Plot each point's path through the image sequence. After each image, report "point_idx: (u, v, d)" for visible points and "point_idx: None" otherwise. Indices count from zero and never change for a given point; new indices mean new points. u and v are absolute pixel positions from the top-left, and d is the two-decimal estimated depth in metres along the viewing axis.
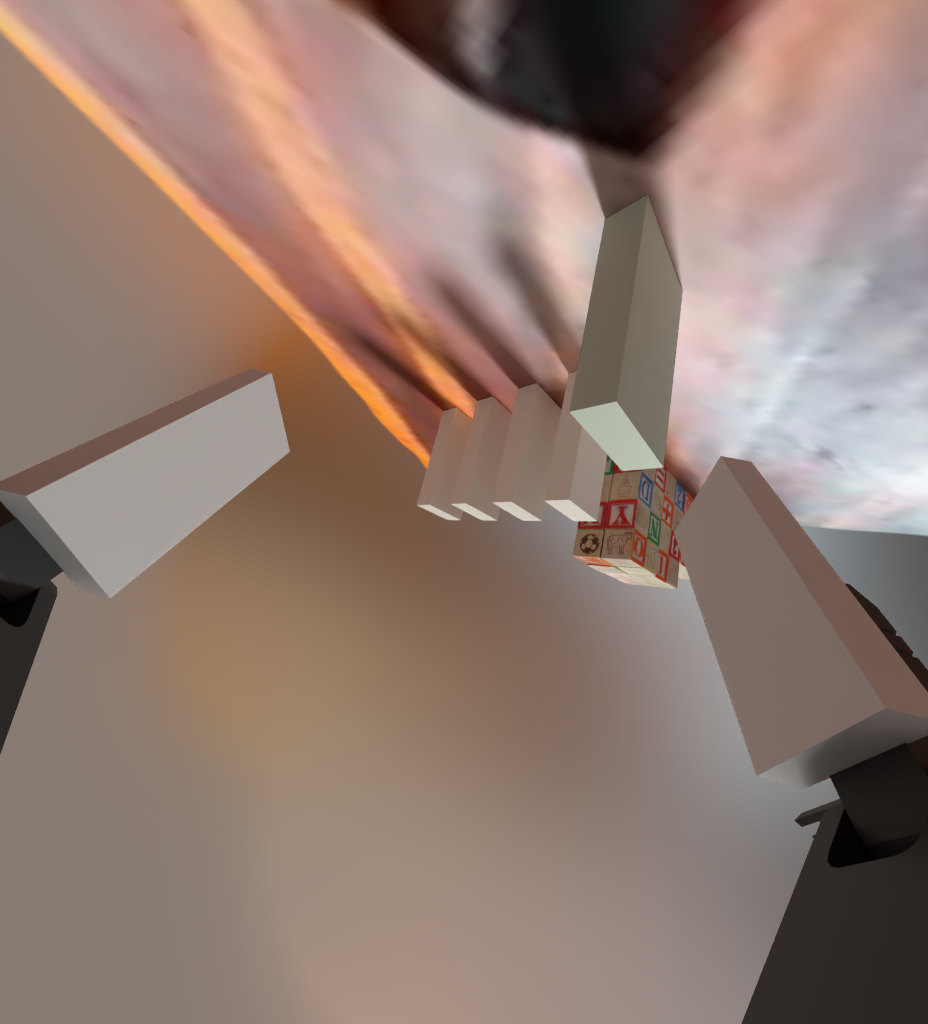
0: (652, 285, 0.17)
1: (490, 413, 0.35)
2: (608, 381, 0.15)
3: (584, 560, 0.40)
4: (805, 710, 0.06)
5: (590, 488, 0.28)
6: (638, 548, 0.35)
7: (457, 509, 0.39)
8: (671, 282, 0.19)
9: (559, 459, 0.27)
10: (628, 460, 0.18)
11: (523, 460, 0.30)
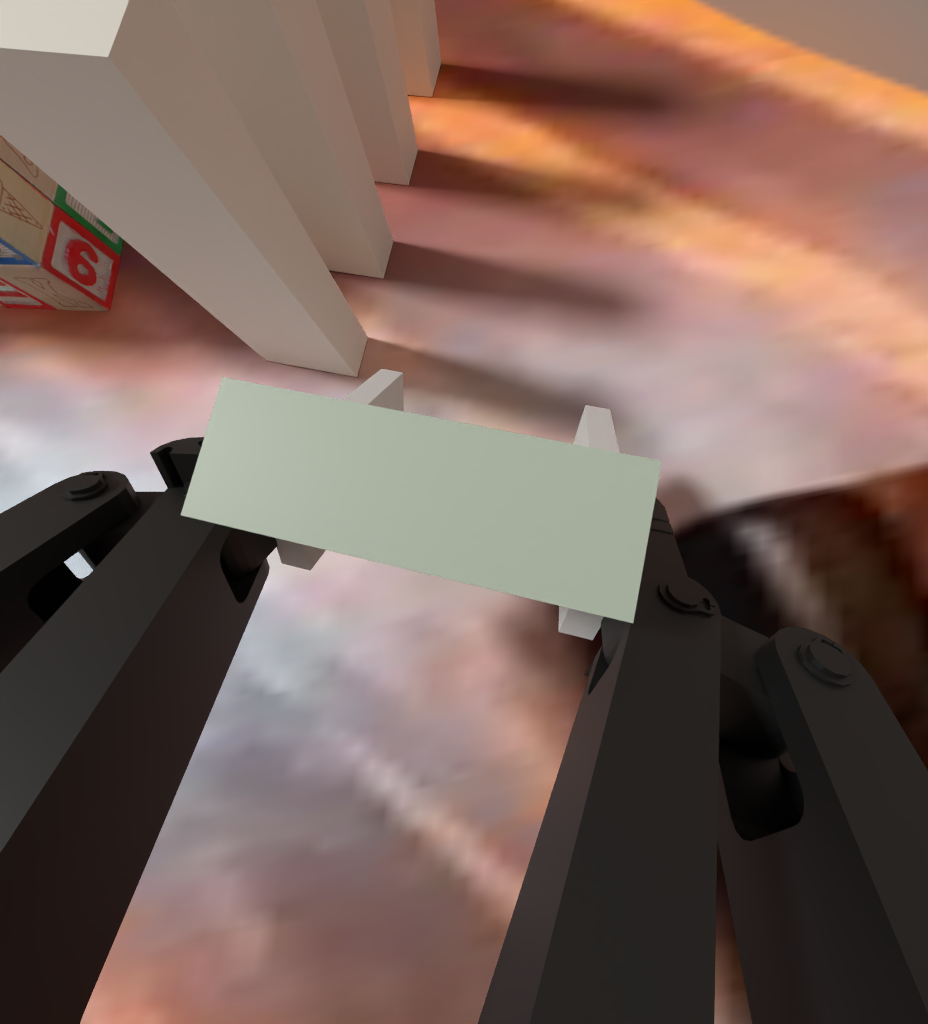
0: None
1: (393, 147, 0.16)
2: None
3: None
4: None
5: (97, 165, 0.08)
6: None
7: None
8: None
9: (257, 181, 0.09)
10: (283, 443, 0.05)
11: (291, 86, 0.10)
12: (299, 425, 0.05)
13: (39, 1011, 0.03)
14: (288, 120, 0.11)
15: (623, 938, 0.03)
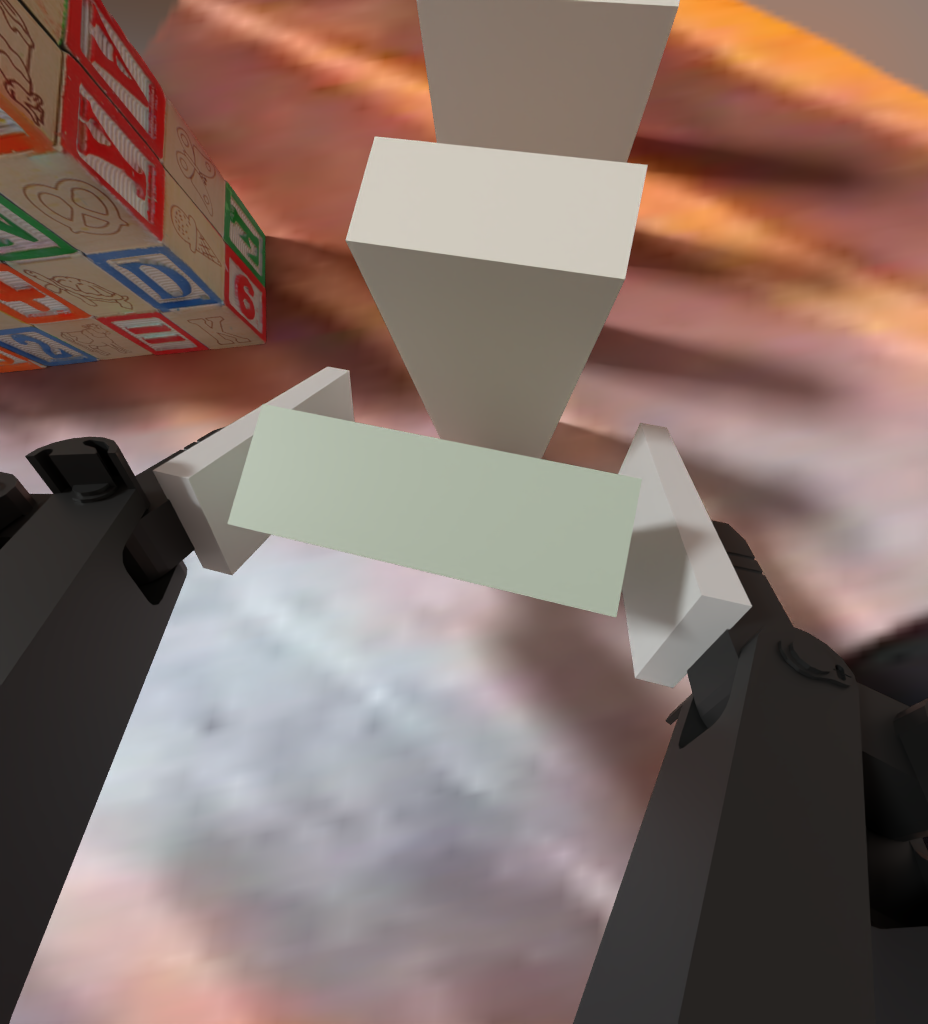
0: None
1: None
2: None
3: None
4: (664, 614, 0.07)
5: (465, 329, 0.08)
6: None
7: None
8: None
9: None
10: (316, 461, 0.06)
11: None
12: (329, 446, 0.06)
13: None
14: None
15: None
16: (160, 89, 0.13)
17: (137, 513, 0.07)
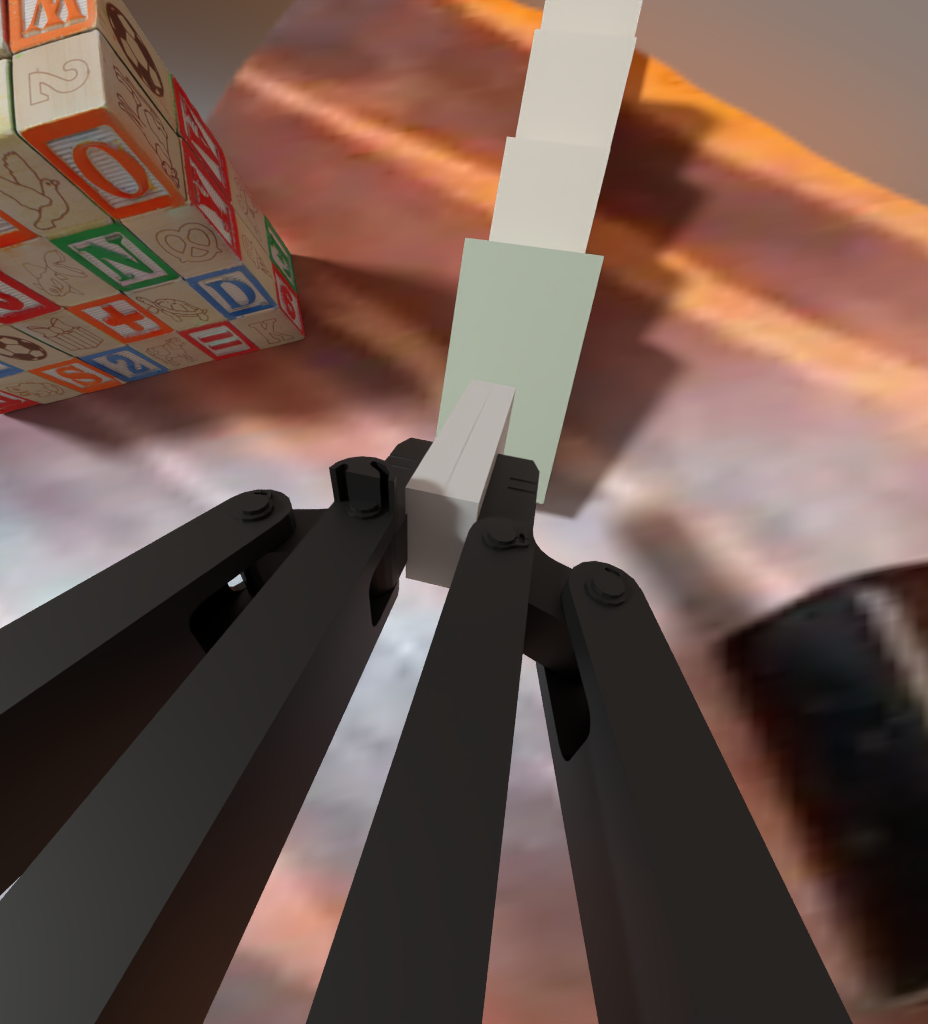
0: (523, 425, 0.18)
1: None
2: None
3: None
4: None
5: (538, 194, 0.17)
6: (110, 170, 0.13)
7: None
8: None
9: None
10: None
11: (602, 142, 0.18)
12: None
13: None
14: None
15: (427, 833, 0.03)
16: (222, 151, 0.18)
17: (389, 538, 0.07)
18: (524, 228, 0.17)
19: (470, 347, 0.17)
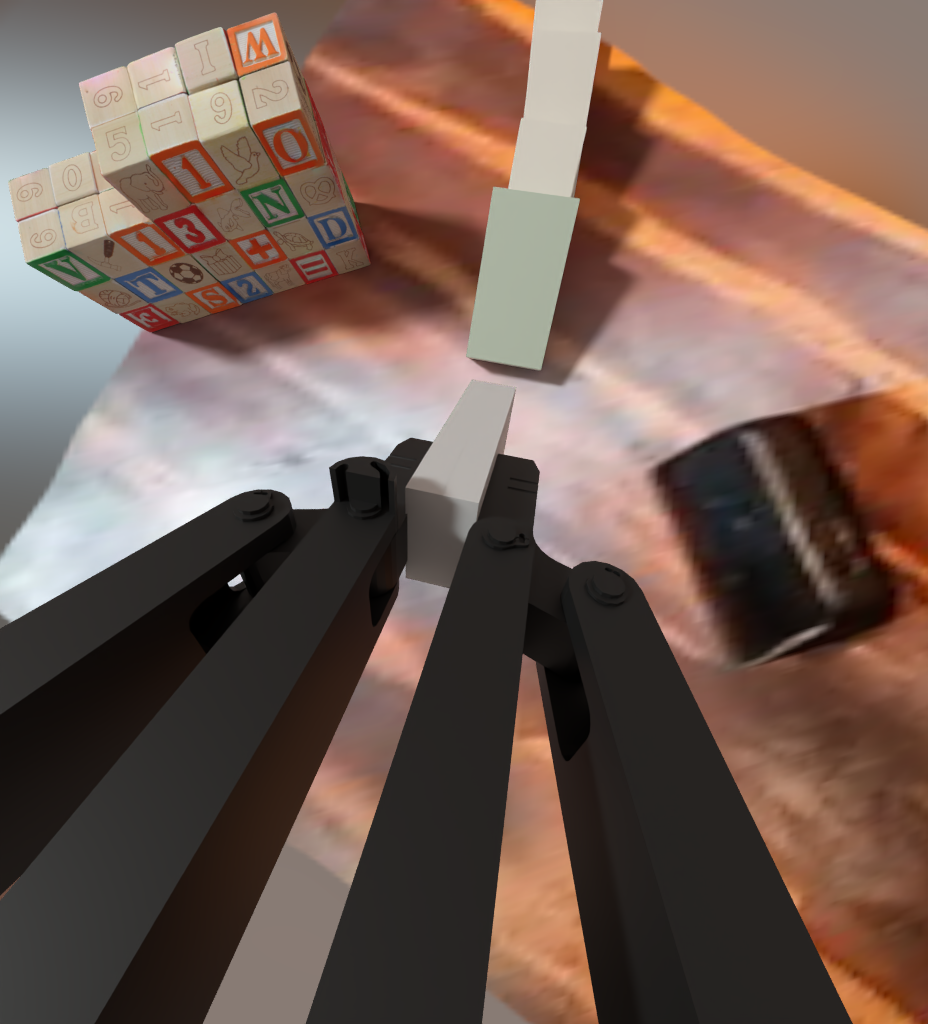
0: (528, 315, 0.28)
1: None
2: None
3: (247, 28, 0.21)
4: None
5: (541, 157, 0.26)
6: (289, 145, 0.22)
7: None
8: (491, 345, 0.29)
9: None
10: None
11: (583, 105, 0.27)
12: None
13: None
14: (571, 121, 0.27)
15: (427, 834, 0.03)
16: (323, 127, 0.26)
17: (389, 538, 0.07)
18: (531, 180, 0.27)
19: (495, 261, 0.27)
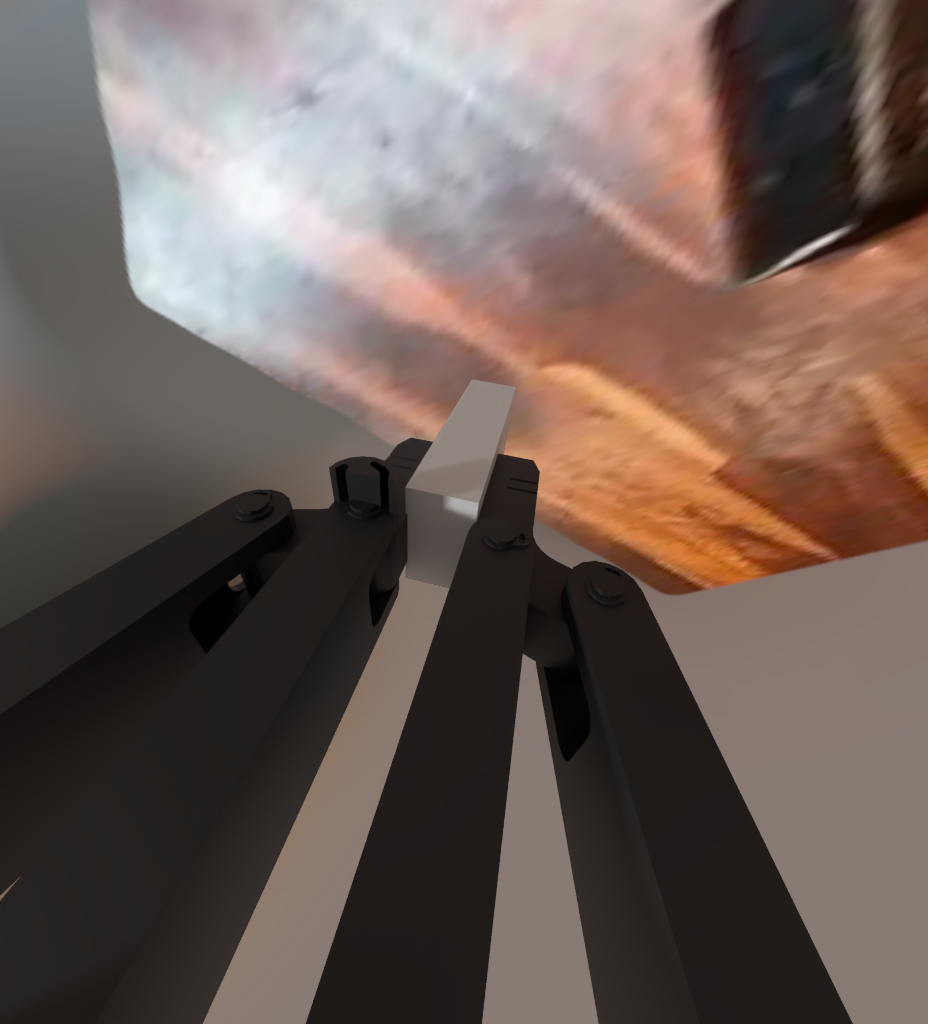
0: None
1: None
2: None
3: None
4: None
5: None
6: None
7: None
8: None
9: None
10: None
11: None
12: None
13: None
14: None
15: (427, 833, 0.03)
16: None
17: (389, 538, 0.07)
18: None
19: None
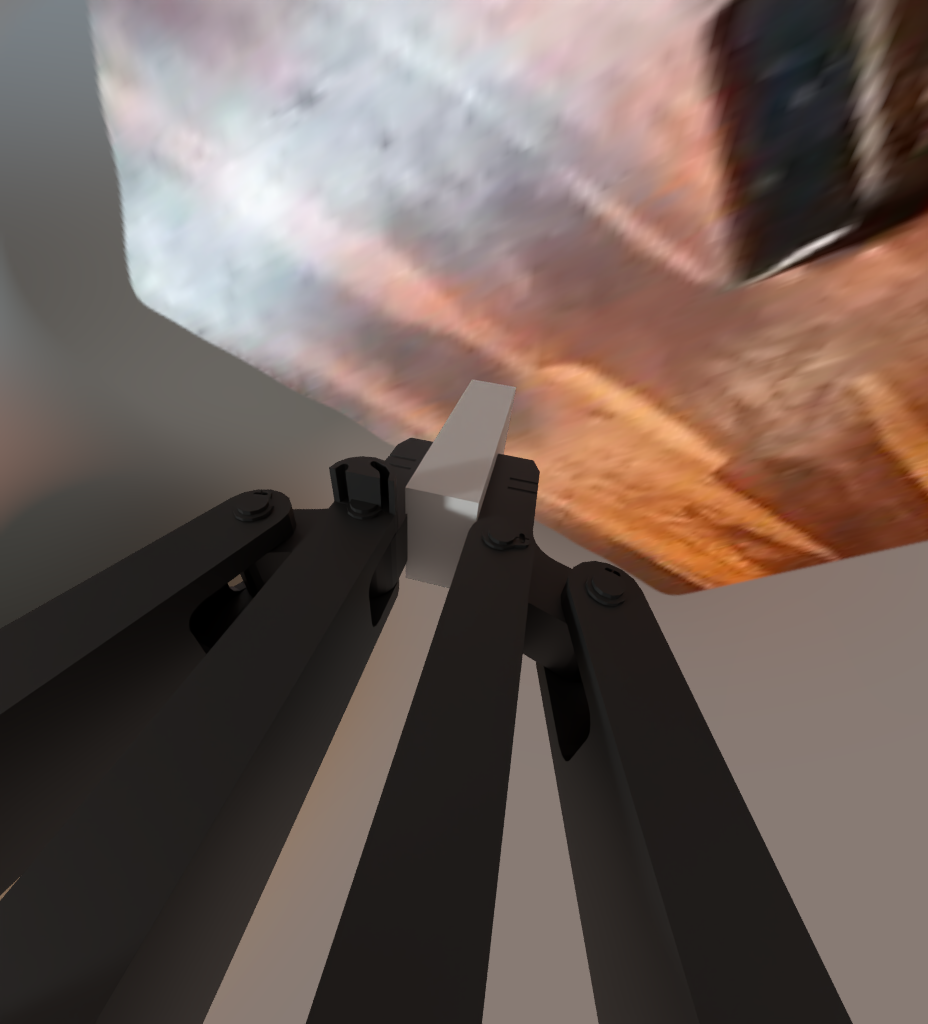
0: None
1: None
2: None
3: None
4: None
5: None
6: None
7: None
8: None
9: None
10: None
11: None
12: None
13: None
14: None
15: (427, 833, 0.03)
16: None
17: (389, 538, 0.07)
18: None
19: None
